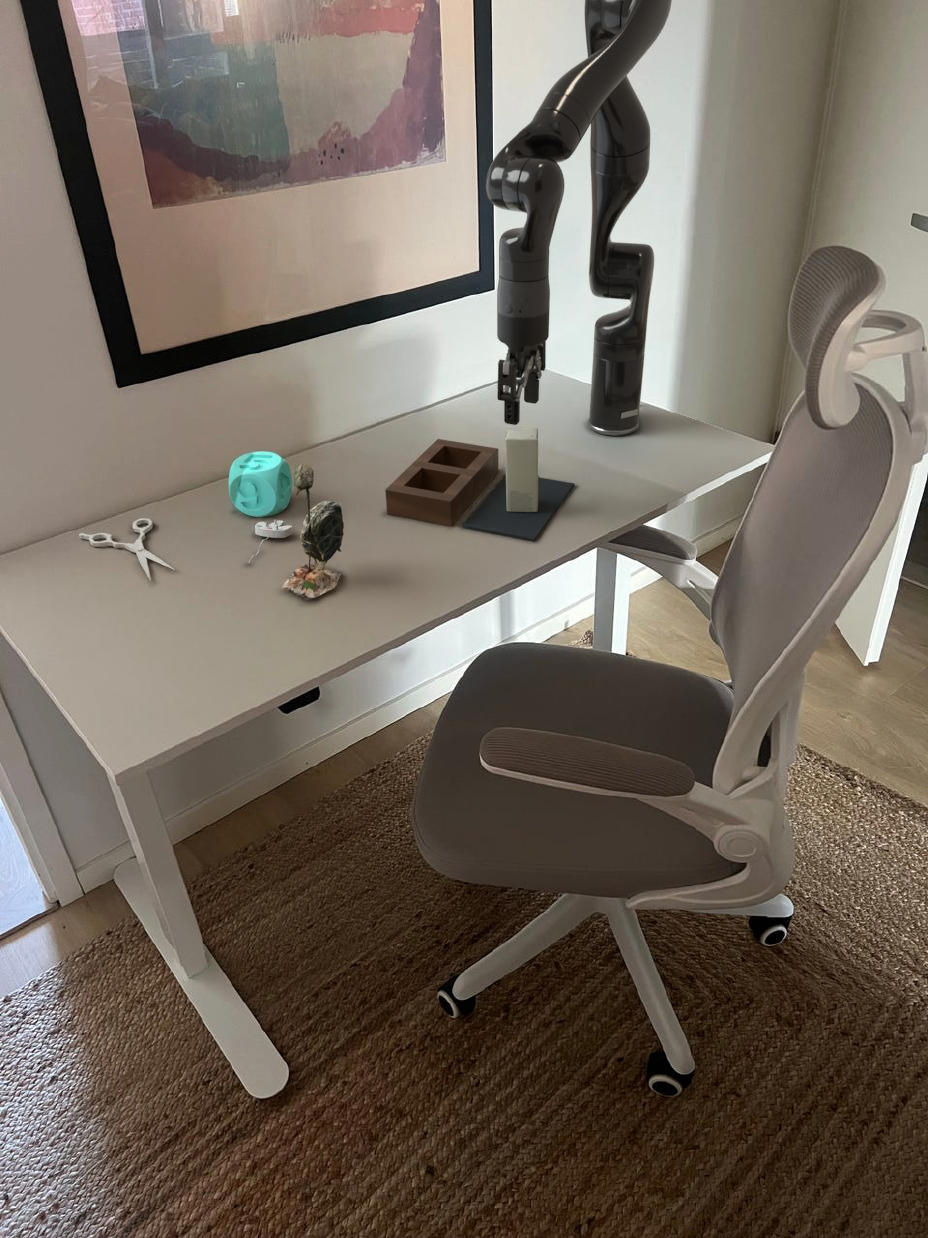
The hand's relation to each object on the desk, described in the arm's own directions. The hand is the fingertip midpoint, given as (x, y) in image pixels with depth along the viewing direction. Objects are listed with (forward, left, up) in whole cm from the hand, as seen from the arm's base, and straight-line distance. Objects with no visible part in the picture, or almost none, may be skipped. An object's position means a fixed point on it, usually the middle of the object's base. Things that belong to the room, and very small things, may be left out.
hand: (521, 412), depth 151 cm
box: (0, 0, -16) cm, 16 cm away
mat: (-1, 0, -17) cm, 17 cm away
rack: (-1, -14, -17) cm, 22 cm away
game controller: (+25, -33, -17) cm, 45 cm away
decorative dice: (+14, -40, -17) cm, 45 cm away
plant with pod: (+31, -20, -17) cm, 41 cm away
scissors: (+34, -50, -17) cm, 63 cm away
